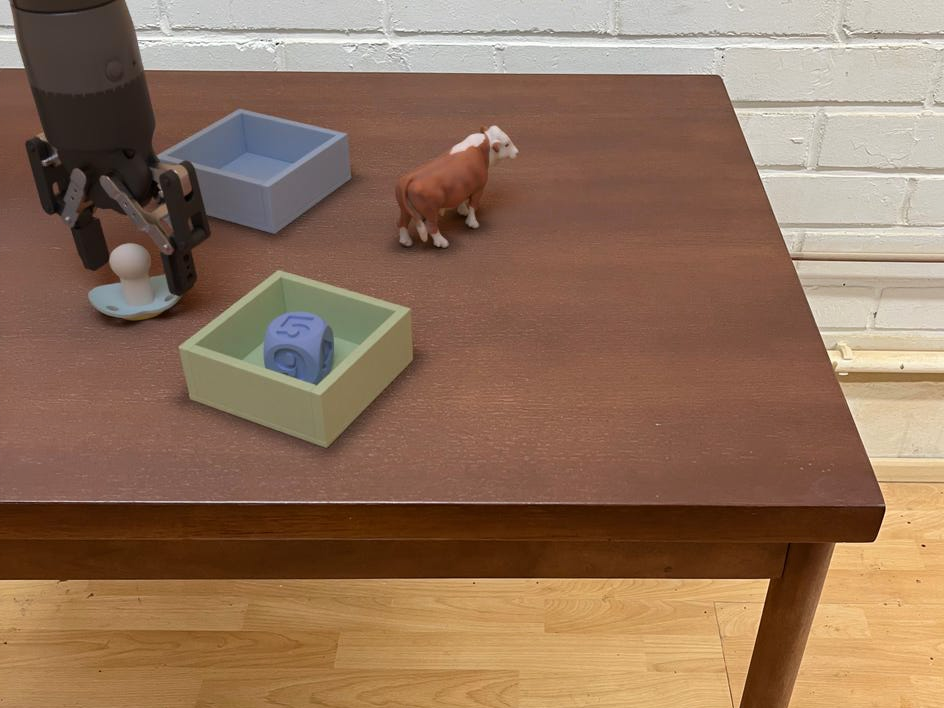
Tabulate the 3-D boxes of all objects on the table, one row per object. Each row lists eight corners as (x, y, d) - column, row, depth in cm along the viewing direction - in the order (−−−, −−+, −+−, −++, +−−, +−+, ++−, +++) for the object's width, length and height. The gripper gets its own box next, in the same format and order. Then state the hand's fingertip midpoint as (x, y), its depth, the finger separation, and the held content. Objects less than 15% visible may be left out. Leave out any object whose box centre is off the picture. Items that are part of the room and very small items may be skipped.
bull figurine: (523, 213, 93) (527, 126, 87) (416, 265, 85) (412, 174, 80) (489, 197, 95) (491, 111, 89) (382, 246, 88) (376, 157, 82)
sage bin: (189, 399, 71) (177, 346, 68) (285, 319, 79) (278, 269, 76) (326, 448, 67) (320, 395, 64) (413, 359, 75) (411, 308, 72)
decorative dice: (336, 359, 74) (331, 313, 71) (322, 392, 71) (316, 345, 69) (283, 354, 75) (277, 308, 72) (267, 386, 72) (259, 339, 69)
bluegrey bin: (163, 203, 93) (153, 156, 90) (246, 152, 102) (239, 108, 99) (274, 234, 89) (267, 186, 86) (351, 178, 98) (347, 133, 95)
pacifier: (90, 299, 81) (98, 335, 77) (69, 227, 77) (77, 261, 73) (181, 281, 83) (195, 316, 79) (166, 211, 79) (179, 243, 75)
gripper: (204, 66, 68) (242, 277, 79) (46, 34, 73) (103, 237, 84) (129, 105, 63) (181, 324, 74) (-35, 68, 68) (36, 279, 79)
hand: (139, 278), depth 79 cm, fingers open, 8 cm apart
